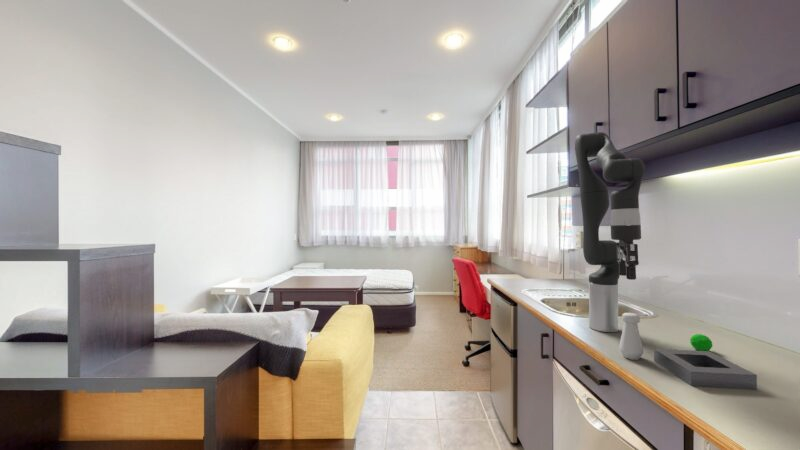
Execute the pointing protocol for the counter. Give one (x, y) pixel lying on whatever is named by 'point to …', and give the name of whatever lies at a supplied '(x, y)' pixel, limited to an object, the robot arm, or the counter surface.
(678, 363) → the collar
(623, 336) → the salt shaker
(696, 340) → the polyhedron
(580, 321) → the counter surface
